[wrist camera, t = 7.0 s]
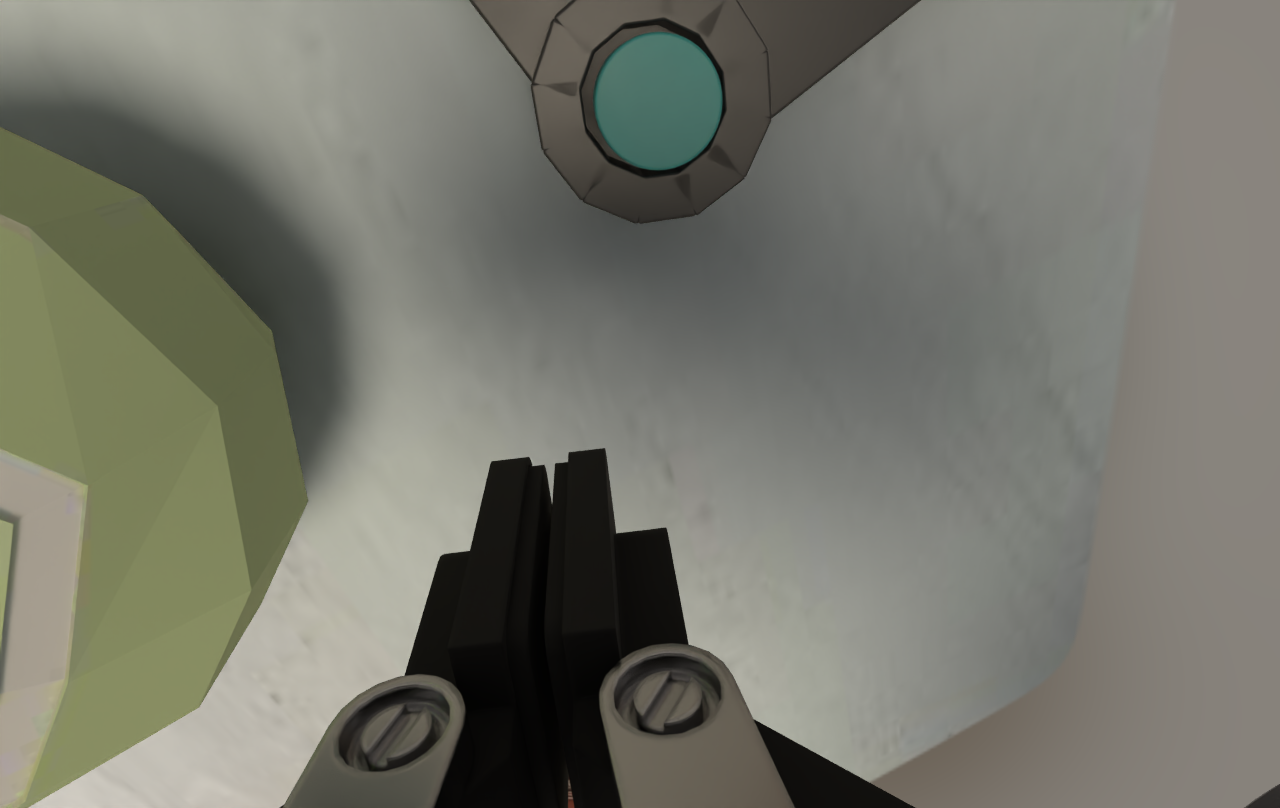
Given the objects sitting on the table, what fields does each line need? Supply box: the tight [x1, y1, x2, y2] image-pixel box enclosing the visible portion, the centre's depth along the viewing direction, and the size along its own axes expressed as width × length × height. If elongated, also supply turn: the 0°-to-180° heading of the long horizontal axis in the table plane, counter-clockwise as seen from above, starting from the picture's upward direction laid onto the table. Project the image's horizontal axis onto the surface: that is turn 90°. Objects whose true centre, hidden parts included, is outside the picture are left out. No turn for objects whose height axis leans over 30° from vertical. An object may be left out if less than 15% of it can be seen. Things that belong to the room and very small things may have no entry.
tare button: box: [593, 32, 723, 170], centre depth 18 cm, size 3×3×2 cm
